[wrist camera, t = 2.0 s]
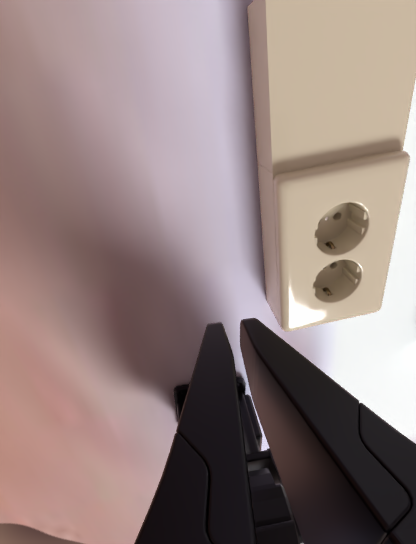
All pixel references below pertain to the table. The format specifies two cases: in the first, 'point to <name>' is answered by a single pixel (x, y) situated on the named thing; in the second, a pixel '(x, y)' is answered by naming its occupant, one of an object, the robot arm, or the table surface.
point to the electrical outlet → (330, 149)
